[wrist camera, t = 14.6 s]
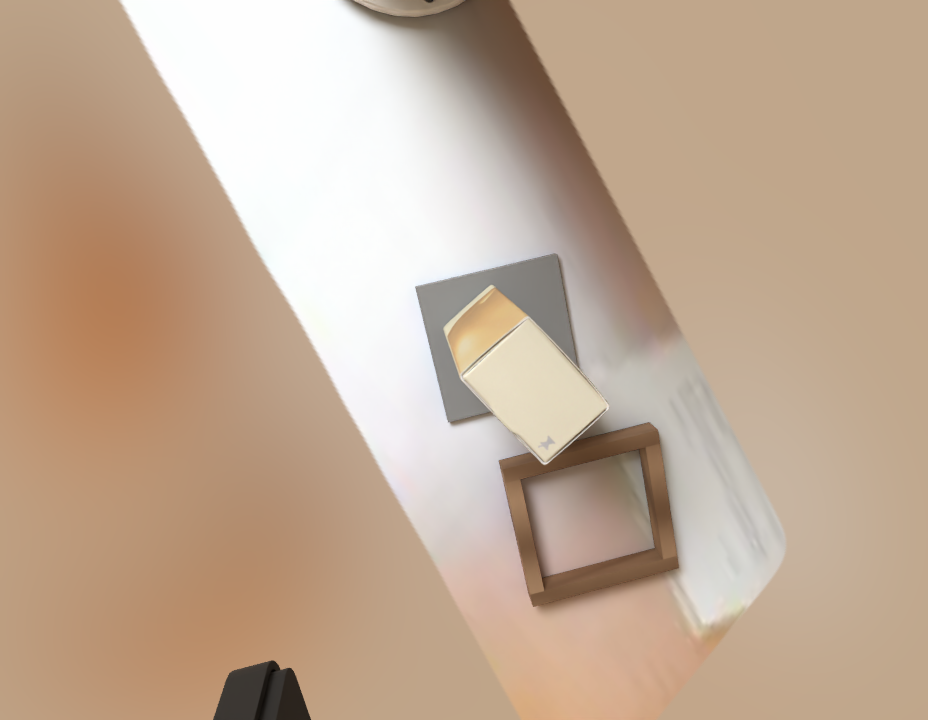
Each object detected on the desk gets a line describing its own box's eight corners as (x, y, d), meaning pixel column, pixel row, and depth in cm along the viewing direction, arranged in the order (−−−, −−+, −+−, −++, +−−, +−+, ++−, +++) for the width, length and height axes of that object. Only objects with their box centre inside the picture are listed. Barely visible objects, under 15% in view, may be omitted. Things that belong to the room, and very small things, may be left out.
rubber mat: (415, 286, 41) (415, 287, 40) (554, 253, 41) (556, 254, 41) (447, 419, 43) (448, 422, 43) (579, 386, 44) (581, 389, 43)
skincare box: (554, 351, 42) (618, 411, 31) (504, 396, 43) (548, 473, 31) (488, 278, 41) (529, 311, 29) (436, 325, 41) (457, 378, 29)
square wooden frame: (498, 460, 44) (502, 469, 43) (649, 422, 45) (657, 429, 43) (528, 594, 47) (533, 606, 46) (669, 556, 48) (678, 567, 46)
